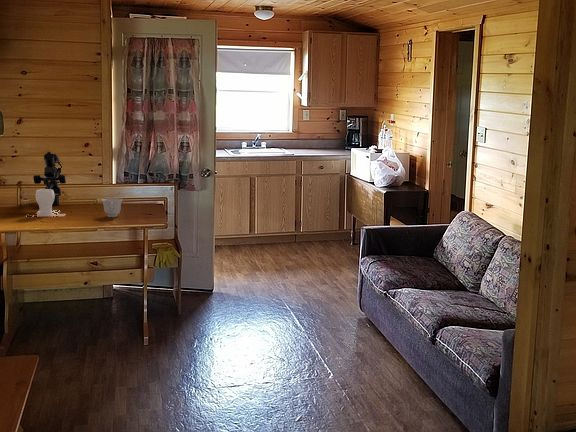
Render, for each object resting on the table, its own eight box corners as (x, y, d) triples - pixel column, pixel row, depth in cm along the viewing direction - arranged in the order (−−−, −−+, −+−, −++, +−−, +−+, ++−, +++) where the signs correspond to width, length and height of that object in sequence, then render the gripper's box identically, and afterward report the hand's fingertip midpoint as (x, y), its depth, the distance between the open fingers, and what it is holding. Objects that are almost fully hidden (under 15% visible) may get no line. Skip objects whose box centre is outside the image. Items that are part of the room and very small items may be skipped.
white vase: (58, 214, 425) (57, 189, 422) (50, 217, 415) (49, 191, 412) (41, 213, 426) (40, 188, 424) (33, 216, 416) (31, 191, 413)
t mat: (30, 210, 434) (30, 210, 434) (68, 210, 439) (68, 210, 439) (25, 217, 414) (25, 216, 414) (64, 216, 419) (64, 216, 419)
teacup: (101, 219, 412) (100, 202, 410) (102, 214, 426) (102, 198, 424) (122, 218, 414) (122, 201, 412) (123, 214, 429) (122, 198, 427)
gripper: (32, 162, 436) (31, 182, 427) (64, 162, 439) (63, 182, 431) (35, 173, 445) (33, 193, 436) (66, 173, 448) (65, 192, 440)
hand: (48, 190), depth 435 cm, fingers closed
